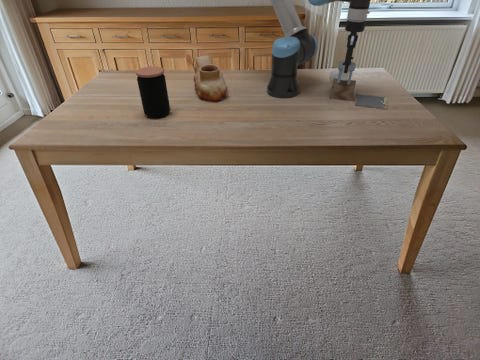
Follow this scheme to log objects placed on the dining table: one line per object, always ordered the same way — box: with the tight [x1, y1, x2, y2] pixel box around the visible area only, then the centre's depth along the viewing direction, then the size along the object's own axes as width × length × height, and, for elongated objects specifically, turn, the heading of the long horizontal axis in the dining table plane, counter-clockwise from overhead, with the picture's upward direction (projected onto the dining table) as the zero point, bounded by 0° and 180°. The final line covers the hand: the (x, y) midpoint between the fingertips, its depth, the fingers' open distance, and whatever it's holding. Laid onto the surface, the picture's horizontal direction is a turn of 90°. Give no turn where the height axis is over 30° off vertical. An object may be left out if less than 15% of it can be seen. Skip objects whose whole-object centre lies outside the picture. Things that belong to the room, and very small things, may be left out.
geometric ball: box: [328, 67, 342, 84], centre depth 153 cm, size 8×8×8 cm
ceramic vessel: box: [193, 55, 228, 103], centre depth 143 cm, size 14×26×15 cm, turn 19°
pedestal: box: [329, 78, 357, 102], centre depth 140 cm, size 10×10×6 cm
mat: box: [354, 93, 388, 109], centre depth 136 cm, size 13×13×1 cm
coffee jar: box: [135, 65, 171, 120], centre depth 123 cm, size 11×11×18 cm
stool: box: [337, 60, 357, 84], centre depth 136 cm, size 7×7×8 cm
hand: (344, 77), depth 137 cm, fingers closed on stool, 7 cm apart
